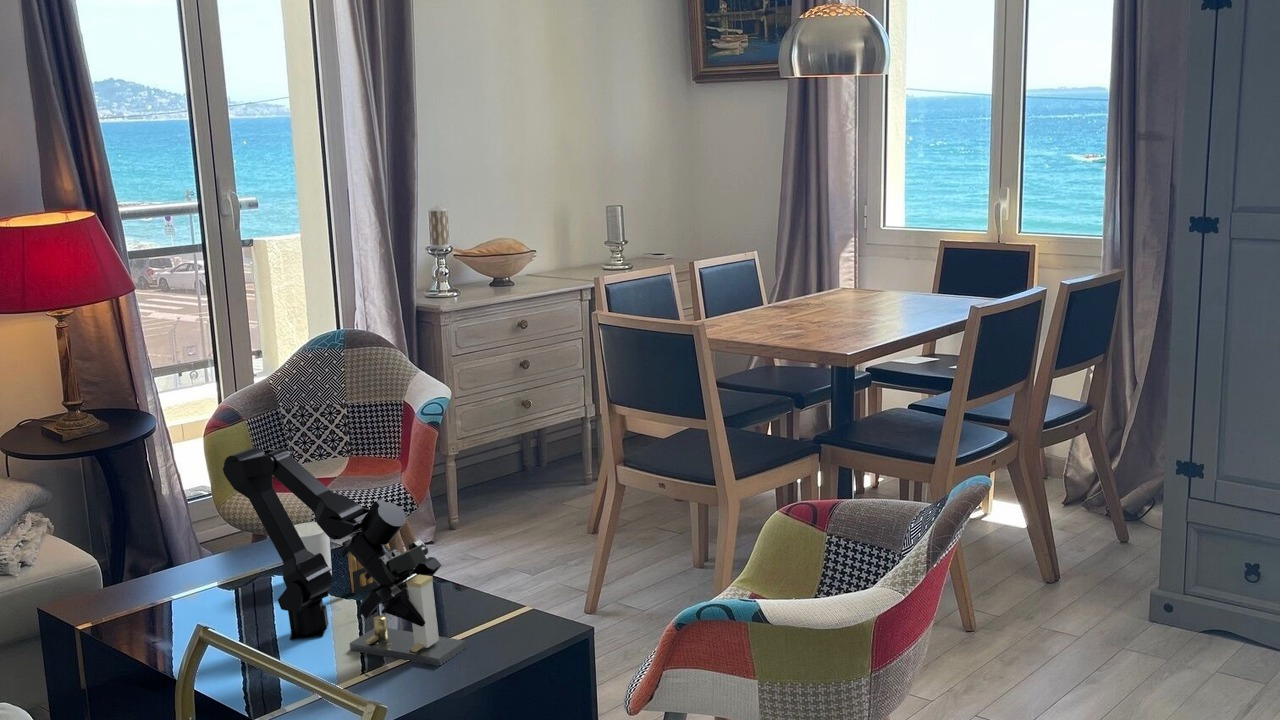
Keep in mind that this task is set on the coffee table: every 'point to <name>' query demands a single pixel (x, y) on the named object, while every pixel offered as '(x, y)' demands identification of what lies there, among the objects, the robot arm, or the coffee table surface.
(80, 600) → the coffee table surface
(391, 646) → the plate
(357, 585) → the ammunition clip
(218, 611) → the coffee table surface
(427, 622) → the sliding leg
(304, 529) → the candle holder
